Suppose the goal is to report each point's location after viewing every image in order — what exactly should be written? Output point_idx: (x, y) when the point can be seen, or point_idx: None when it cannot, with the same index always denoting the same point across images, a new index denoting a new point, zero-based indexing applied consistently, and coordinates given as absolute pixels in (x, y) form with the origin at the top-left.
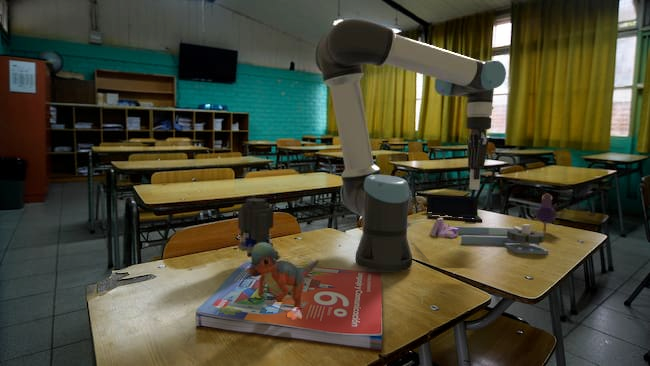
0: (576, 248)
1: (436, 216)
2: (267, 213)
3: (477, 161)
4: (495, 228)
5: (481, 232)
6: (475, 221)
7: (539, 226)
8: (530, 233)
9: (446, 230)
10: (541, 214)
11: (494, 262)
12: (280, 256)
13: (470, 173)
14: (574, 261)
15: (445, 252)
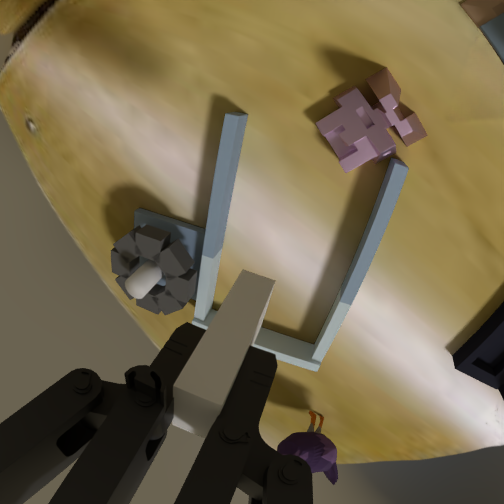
0: None
1: None
2: None
3: (32, 401)
4: (331, 316)
5: (349, 270)
6: (467, 350)
7: (373, 442)
8: (158, 292)
9: (350, 119)
10: (295, 438)
11: (83, 108)
12: None
13: (231, 368)
14: (102, 275)
15: (154, 20)
